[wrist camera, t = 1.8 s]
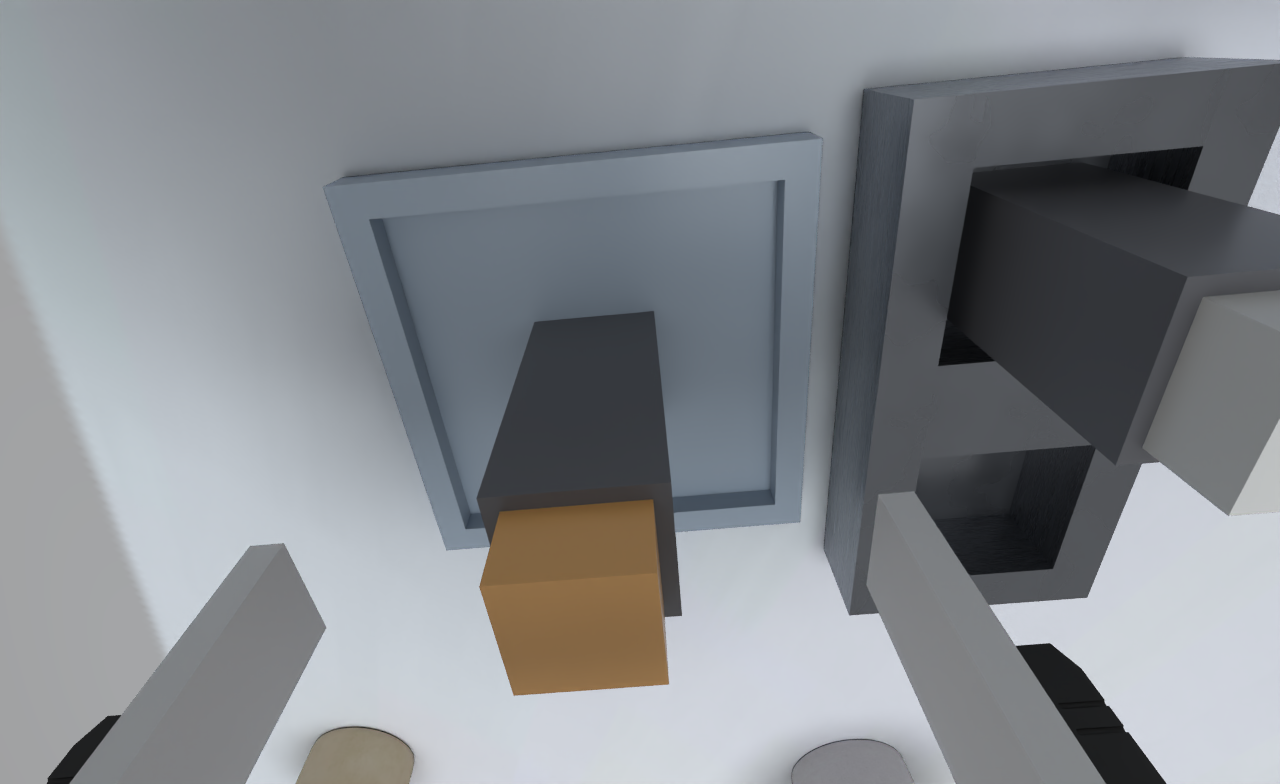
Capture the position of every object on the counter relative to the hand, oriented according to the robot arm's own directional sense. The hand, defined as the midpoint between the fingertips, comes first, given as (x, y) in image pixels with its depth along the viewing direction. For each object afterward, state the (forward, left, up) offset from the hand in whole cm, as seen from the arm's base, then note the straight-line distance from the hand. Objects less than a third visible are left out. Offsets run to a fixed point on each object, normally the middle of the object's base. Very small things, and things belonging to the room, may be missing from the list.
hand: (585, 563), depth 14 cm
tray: (0, 0, -9) cm, 9 cm away
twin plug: (-4, +13, -9) cm, 16 cm away
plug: (0, 0, -9) cm, 9 cm away
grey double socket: (+1, +13, -9) cm, 16 cm away
